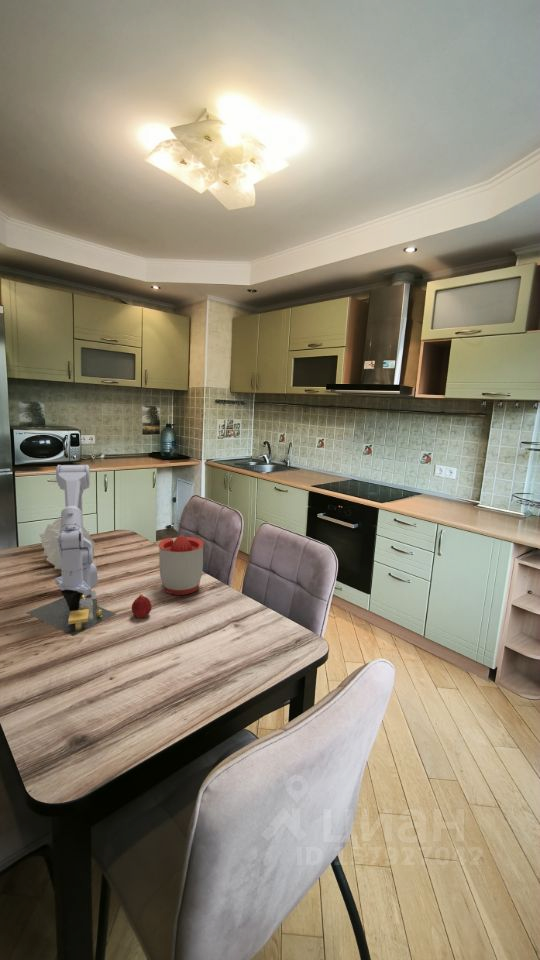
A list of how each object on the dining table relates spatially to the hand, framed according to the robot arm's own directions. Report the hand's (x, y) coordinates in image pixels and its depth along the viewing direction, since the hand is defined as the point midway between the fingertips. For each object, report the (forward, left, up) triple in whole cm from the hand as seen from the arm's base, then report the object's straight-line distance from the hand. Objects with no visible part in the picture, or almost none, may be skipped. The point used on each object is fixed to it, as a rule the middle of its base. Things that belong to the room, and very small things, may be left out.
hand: (74, 611), depth 126 cm
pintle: (-5, -3, -1) cm, 6 cm away
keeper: (+3, +6, -1) cm, 7 cm away
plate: (0, -1, -2) cm, 2 cm away
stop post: (-3, +7, -1) cm, 8 cm away
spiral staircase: (-25, -40, -2) cm, 47 cm away
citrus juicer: (-34, +12, -2) cm, 36 cm away
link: (-3, +1, -1) cm, 4 cm away
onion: (-11, +17, -2) cm, 21 cm away
